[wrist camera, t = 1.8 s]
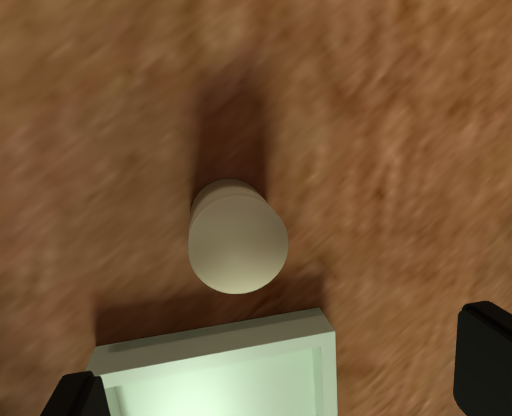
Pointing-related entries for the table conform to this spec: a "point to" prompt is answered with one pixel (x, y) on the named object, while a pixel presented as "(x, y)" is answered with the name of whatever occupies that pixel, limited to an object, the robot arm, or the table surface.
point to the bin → (225, 370)
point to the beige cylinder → (235, 237)
